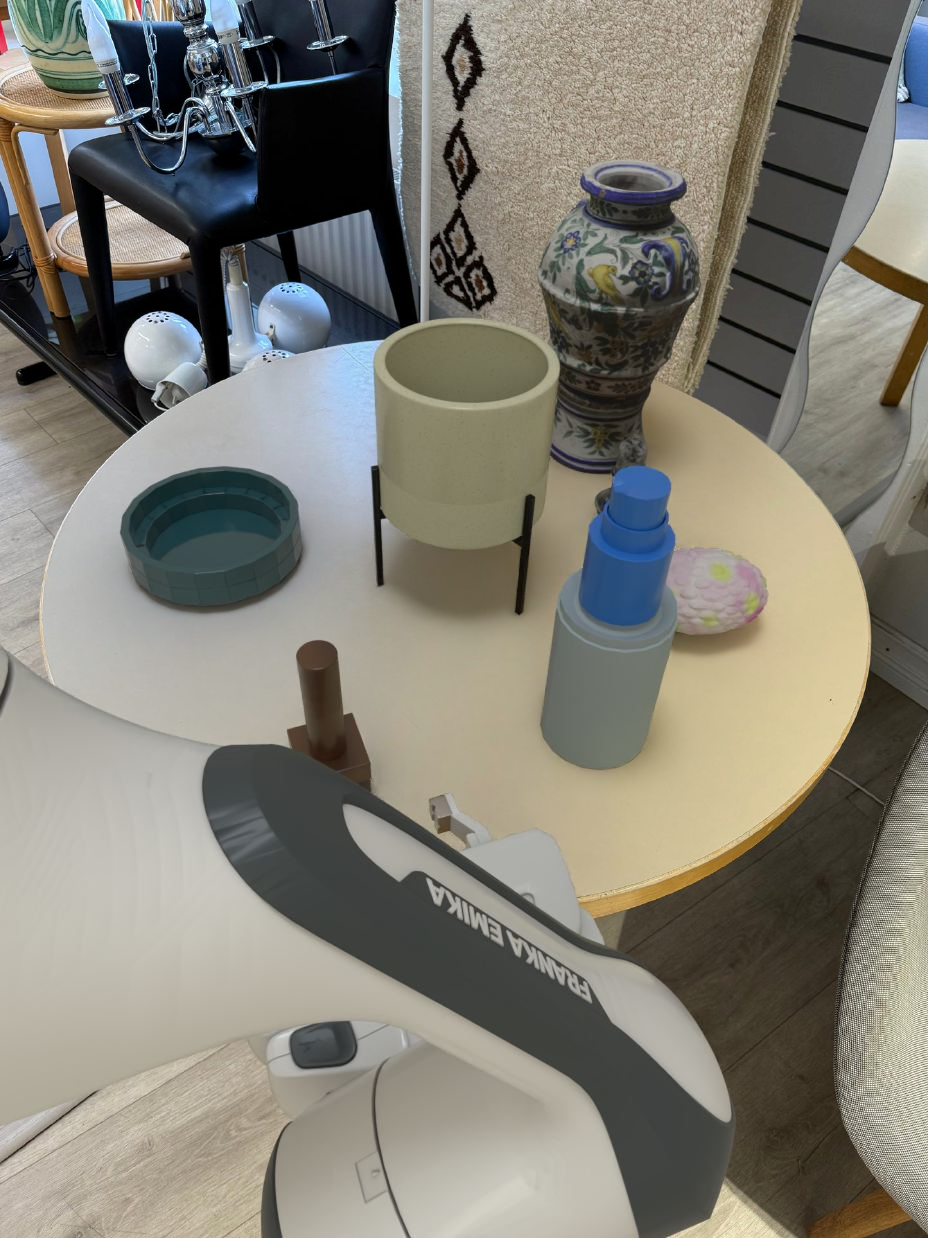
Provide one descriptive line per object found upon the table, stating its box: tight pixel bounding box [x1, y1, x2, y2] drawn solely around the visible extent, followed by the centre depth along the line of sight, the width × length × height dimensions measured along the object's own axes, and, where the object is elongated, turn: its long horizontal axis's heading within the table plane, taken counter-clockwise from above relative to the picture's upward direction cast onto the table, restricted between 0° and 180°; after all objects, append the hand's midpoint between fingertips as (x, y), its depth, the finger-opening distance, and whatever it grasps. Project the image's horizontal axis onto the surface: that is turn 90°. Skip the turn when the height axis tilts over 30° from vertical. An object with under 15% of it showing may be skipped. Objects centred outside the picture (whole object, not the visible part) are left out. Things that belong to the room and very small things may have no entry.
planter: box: [370, 317, 560, 616], centre depth 82 cm, size 15×16×23 cm
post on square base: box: [286, 639, 373, 793], centre depth 66 cm, size 5×5×14 cm
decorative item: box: [666, 546, 769, 636], centre depth 83 cm, size 9×11×10 cm
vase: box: [536, 159, 702, 475], centre depth 96 cm, size 17×17×30 cm
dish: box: [119, 465, 303, 607], centre depth 89 cm, size 17×17×5 cm
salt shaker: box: [593, 433, 649, 515], centre depth 91 cm, size 6×6×12 cm
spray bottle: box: [539, 466, 677, 770], centre depth 67 cm, size 9×9×25 cm
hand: (367, 821), depth 56 cm, fingers open, 8 cm apart
